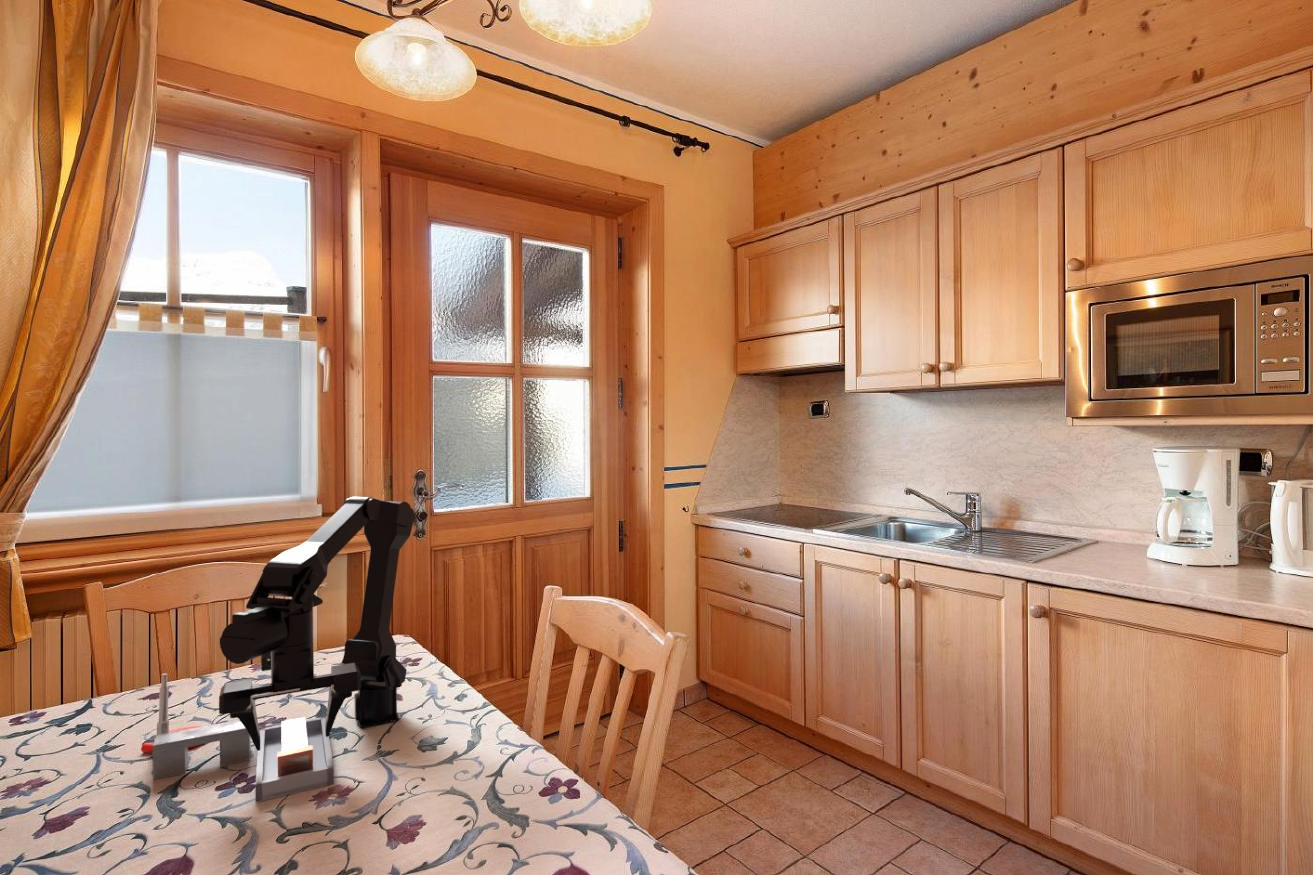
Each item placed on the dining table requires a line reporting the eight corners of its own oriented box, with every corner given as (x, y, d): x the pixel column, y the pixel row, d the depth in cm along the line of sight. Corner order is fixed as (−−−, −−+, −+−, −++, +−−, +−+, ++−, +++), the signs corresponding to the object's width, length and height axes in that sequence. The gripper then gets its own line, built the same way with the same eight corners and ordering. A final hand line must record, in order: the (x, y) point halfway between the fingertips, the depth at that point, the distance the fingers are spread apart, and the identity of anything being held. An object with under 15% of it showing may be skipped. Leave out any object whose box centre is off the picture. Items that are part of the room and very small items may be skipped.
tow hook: (183, 731, 120) (135, 753, 111) (185, 657, 120) (137, 673, 111) (225, 734, 119) (180, 758, 109) (227, 659, 119) (183, 677, 110)
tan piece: (278, 742, 113) (277, 717, 113) (309, 736, 115) (308, 712, 115) (278, 785, 100) (277, 756, 100) (313, 777, 102) (312, 749, 102)
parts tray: (326, 730, 119) (325, 716, 119) (333, 783, 101) (333, 767, 101) (259, 743, 114) (259, 728, 114) (255, 802, 96) (255, 784, 96)
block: (250, 749, 112) (250, 717, 112) (249, 759, 109) (249, 727, 108) (157, 767, 106) (156, 734, 106) (153, 779, 103) (152, 745, 102)
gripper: (354, 619, 115) (355, 710, 115) (223, 635, 106) (225, 734, 106) (360, 637, 105) (362, 737, 106) (217, 657, 96) (219, 766, 97)
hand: (293, 742), depth 104 cm, fingers open, 9 cm apart
